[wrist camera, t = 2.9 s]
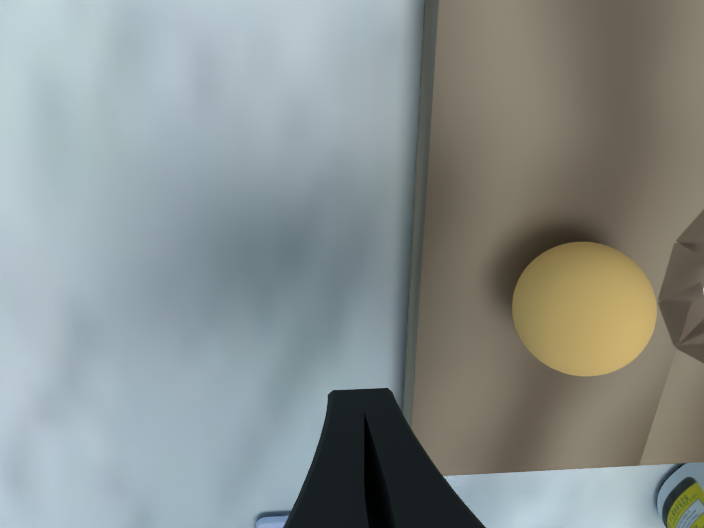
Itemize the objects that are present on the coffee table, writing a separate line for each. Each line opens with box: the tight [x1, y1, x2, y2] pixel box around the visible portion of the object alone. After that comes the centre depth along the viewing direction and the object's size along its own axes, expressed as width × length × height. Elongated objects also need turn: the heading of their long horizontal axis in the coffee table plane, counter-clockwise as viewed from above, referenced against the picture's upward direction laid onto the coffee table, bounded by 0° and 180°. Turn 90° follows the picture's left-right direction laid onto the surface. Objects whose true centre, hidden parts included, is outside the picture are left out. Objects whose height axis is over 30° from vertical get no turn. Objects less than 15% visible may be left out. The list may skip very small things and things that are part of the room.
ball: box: [512, 242, 657, 376], centre depth 17 cm, size 4×4×4 cm
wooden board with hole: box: [403, 0, 704, 476], centre depth 20 cm, size 18×18×2 cm
